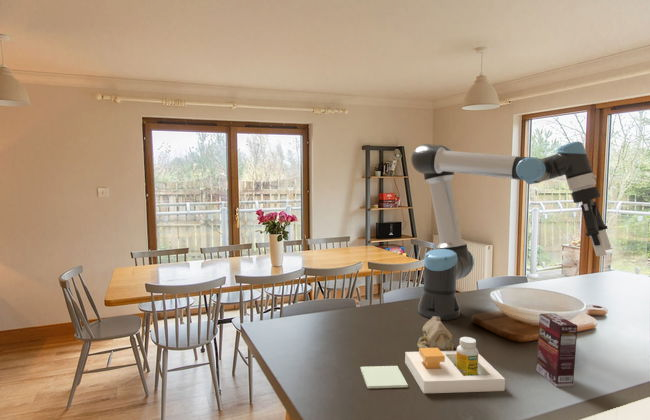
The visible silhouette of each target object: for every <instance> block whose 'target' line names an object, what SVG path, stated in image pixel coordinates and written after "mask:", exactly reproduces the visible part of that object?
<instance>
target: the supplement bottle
mask: <svg viewBox="0 0 650 420" xmlns="http://www.w3.org/2000/svg"><path fill="white" fill-rule="evenodd" d="M476 346H477V341H476V339H475V338H473V337H469V336H462V337H460V338H459V345H458V346H457V347H456V351H457V352H456V365H455V367H456V368H457V369H458V370H459V371H460V372H461V374H462V375H463V376H478V373H477V372H478V353H479V350H478V348H477V347H476Z"/></svg>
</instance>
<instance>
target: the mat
mask: <svg viewBox="0 0 650 420" xmlns="http://www.w3.org/2000/svg"><path fill="white" fill-rule="evenodd" d="M359 369H360V371H361V372H360V373H361V374H362V377H363V380H364V383H365V385H366V388H367V389H392V388H396V389H397V388H409V384H408V383H407V381H406V379H405V377H404V375H403V373H402V371H401V370H400V368H399V366H398V365H382V366H381V365H377V366H376V365H375V366H371V365H370V366H360V367H359Z"/></svg>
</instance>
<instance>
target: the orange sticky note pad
mask: <svg viewBox="0 0 650 420" xmlns="http://www.w3.org/2000/svg"><path fill="white" fill-rule="evenodd" d="M418 352H419V354H420V356H421V357H422V359H423V365H424V367H425V368H426V369H439V368H440V362H445V356H444V355H443V353H442V352H441V351H440V350H439V349H438V348H419V347H418Z"/></svg>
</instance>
